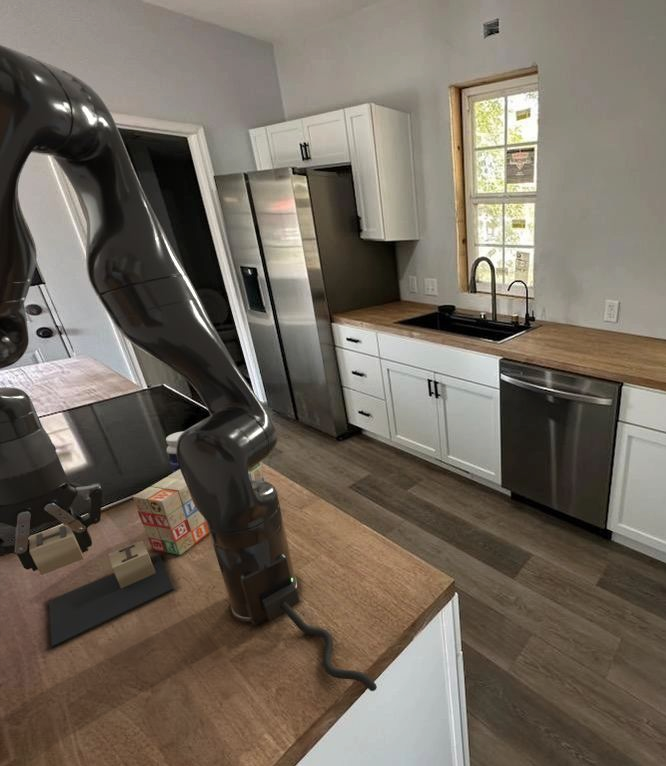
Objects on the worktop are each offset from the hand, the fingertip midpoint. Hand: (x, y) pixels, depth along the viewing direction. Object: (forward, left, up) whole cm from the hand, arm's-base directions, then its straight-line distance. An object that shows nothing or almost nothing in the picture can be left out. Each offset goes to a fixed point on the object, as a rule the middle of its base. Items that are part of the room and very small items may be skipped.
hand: (61, 557), depth 63 cm
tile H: (0, 0, 0) cm, 0 cm away
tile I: (0, -7, -8) cm, 11 cm away
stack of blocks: (+8, -20, -9) cm, 24 cm away
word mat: (-3, -4, -9) cm, 10 cm away
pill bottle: (+31, -21, -9) cm, 39 cm away
